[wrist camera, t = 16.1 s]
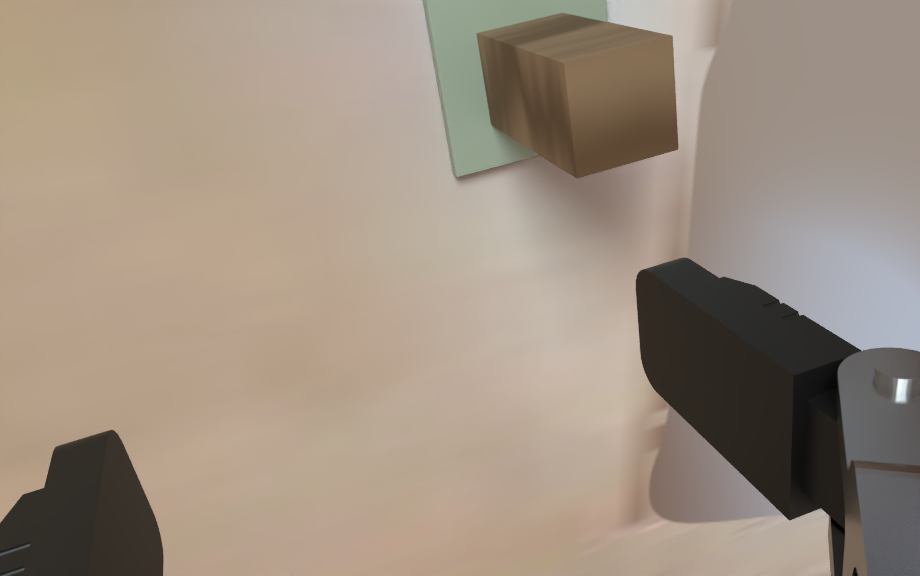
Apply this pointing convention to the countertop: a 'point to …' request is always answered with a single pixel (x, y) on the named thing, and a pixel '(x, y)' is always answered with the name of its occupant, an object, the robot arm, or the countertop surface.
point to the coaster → (461, 78)
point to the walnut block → (581, 90)
